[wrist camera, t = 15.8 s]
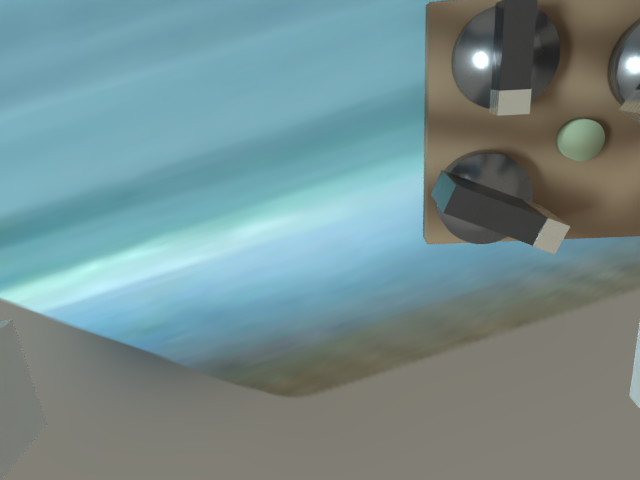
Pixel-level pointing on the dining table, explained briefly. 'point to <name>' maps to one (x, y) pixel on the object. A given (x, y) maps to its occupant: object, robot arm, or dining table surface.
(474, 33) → the knob
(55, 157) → the dining table surface
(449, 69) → the base
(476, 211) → the knob
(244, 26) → the dining table surface
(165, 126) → the dining table surface
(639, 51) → the knob
